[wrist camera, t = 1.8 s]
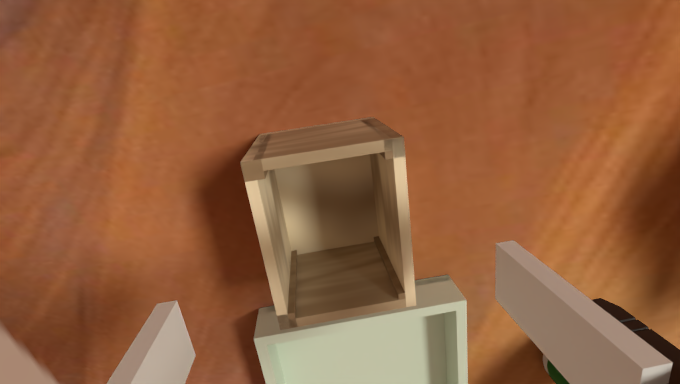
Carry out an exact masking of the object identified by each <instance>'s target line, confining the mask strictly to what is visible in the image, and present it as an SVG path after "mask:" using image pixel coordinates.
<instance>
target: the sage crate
mask: <svg viewBox="0 0 680 384" xmlns="http://www.w3.org/2000/svg"><path fill="white" fill-rule="evenodd" d="M415 293H416V306H411V307H405V308H400V309H394V310H389V311H383V312H378V313H372V314H367V315H361V316H356V317H350V318H345V319H339V320H333V321H328V322H322V323H317V324H311V325H306V326H300V327H295V328H289V329H284V330H280V327H279V323H278V319H277V314H276V310H275V306H269V307H263V308H259V312H258V317H257V323H256V328H255V333H254V342H255V346H256V350H257V353H258V357H259V361H260V364H261V368H262V371H263V375H264V379H265V382H266V384H468V364H467V307H466V299H465V297H464V296H463V295H462V293H461V292H460V290H459V289H458V288H457V286H456V285H455V283H454V282H453V281H452V279H451V278H450V277H449V275H443V276H438V277H432V278H426V279H421V280H415Z"/></svg>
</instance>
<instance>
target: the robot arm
mask: <svg viewBox="0 0 680 384" xmlns="http://www.w3.org/2000/svg"><path fill="white" fill-rule="evenodd" d="M495 299H496V300H497V301H498V302H499V304H500V305H501V306H502V307H503V308H504V309H505V310H506V312H507V313H508V314H509V315H510V316H511V317H512V318H513V320H514V321H515V322H516V323H517V324H518V325H519V326H520V328H521V329H522V330H523V331H524V332H525V333H526V334H527V336H528V337H529V338H530V339H531V340H532V341H533V342H534V344H535V345H536V346H537V347H538V348H539V349H540V350H541V352H542V353H543V354H544V355H545V356H546V357H547V358H548V360H549V361H550V362H551V363H552V364H553V365H554V366H555V368H556V369H557V370H558V371H559V372H560V373H561V374H562V375H563V377H564V378H565V379H566V380H567V381H568V382H569V383H570V384H680V350H679V349H678V348H676V347H675V346H674V345H672V344H671V343H670V342H668V341H667V340H665V339H664V338H663V337H661V336H660V335H658V334H657V333H656V332H654V331H653V330H651V329H650V330H649V329H648V327H647V326H646V325H645V324H643V323H642V322H640V321H639V320H636V319H635V317H633V316H632V315H631V314H629V313H628V312H626V311H625V310H624V309H622V308H621V307H619V306H617V305H615V304H613V303H610V302H608V301H606V300H604V299H601V298H599V299H594V300H591V299H589V298H588V297H587V296H585V295H584V294H583V293H581V292H580V291H579V290H578V289H576V288H575V287H574V286H572V285H571V284H570V283H568V282H567V281H566V280H565V279H563V278H562V277H561V276H559V275H558V274H557V273H555V272H554V271H553V270H552V269H550V268H549V267H548V266H546V265H545V264H544V263H542V262H541V261H540V260H539V259H537V258H536V257H535V256H533V255H532V254H531V253H529V252H528V251H527V250H525V249H524V248H523V247H522V246H520V245H519V244H518V243H516V242H515V241H514V240H512V241H507V242H501V243H496V292H495ZM195 356H196V355H195V352H194V349H193V346H192V343H191V340H190V337H189V334H188V331H187V328H186V325H185V322H184V320H183V317H182V314H181V311H180V308H179V305H178V302H177V300H175V301H170V302H164V303H159V304H157V305H156V306H155V308H154V310H153V311H152V313H151V314H150V316H149V318H148V319H147V321H146V322H145V324H144V325H143V327H142V329H141V330H140V332H139V333H138V335H137V336H136V338H135V340H134V341H133V343H132V344H131V346H130V347H129V349H128V351H127V352H126V354H125V355H124V357H123V358H122V360H121V362H120V363H119V365H118V366H117V368H116V370H115V371H114V373H113V374H112V376H111V377H110V379H109V381H108V382H107V384H185V382H186V379H187V377H188V374H189V371H190V369H191V366H192V364H193V361H194V358H195Z"/></svg>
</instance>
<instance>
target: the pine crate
mask: <svg viewBox="0 0 680 384" xmlns="http://www.w3.org/2000/svg"><path fill="white" fill-rule="evenodd" d="M240 164H241V168H242V173H243V177H244V181H245V185H246V189H247V193H248V198H249V202H250V206H251V210H252V214H253V219H254V223H255V227H256V231H257V235H258V239H259V244H260V248H261V252H262V256H263V260H264V264H265V269H266V273H267V277H268V281H269V285H270V289H271V294H272V298H273V302H274V306H275V310H276V314H277V319H278V323H279V327H280V330H284V329H289V328H295V327H300V326H306V325H311V324H317V323H322V322H328V321H333V320H339V319H345V318H350V317H356V316H361V315H367V314H372V313H378V312H383V311H389V310H394V309H400V308H405V307H411V306H416V293H415V280H414V267H413V254H412V240H411V227H410V214H409V201H408V187H407V174H406V161H405V148H404V137H403V136H402V135H400V134H399V133H397V132H395V131H394V130H392V129H391V128H389V127H388V126H386V125H385V124H383V123H381V122H380V121H378V120H377V119H375V118H374V117H369V118H363V119H356V120H350V121H343V122H337V123H330V124H323V125H317V126H310V127H304V128H297V129H291V130H284V131H278V132H271V133H265V134H259V136H258V137H257V139H256V140H255V141H254V143H253V144H252V146H251V147H250V149H249V150H248V152H247V153H246V154H245V156H244V157H243V159H242V160H241V162H240Z"/></svg>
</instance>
